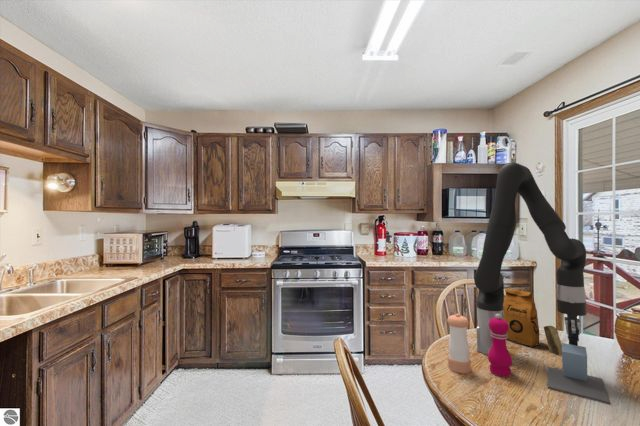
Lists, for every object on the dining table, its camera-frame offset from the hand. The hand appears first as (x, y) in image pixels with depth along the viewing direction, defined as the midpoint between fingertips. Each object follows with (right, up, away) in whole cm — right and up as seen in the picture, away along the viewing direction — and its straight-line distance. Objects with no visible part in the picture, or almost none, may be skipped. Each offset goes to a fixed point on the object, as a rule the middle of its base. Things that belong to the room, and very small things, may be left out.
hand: (573, 351), depth 99 cm
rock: (+12, -10, +21) cm, 26 cm away
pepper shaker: (-34, -10, +7) cm, 37 cm away
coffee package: (+3, -10, +30) cm, 32 cm away
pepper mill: (-22, -9, +4) cm, 24 cm away
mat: (-3, -8, -4) cm, 10 cm away
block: (0, -7, 0) cm, 7 cm away
